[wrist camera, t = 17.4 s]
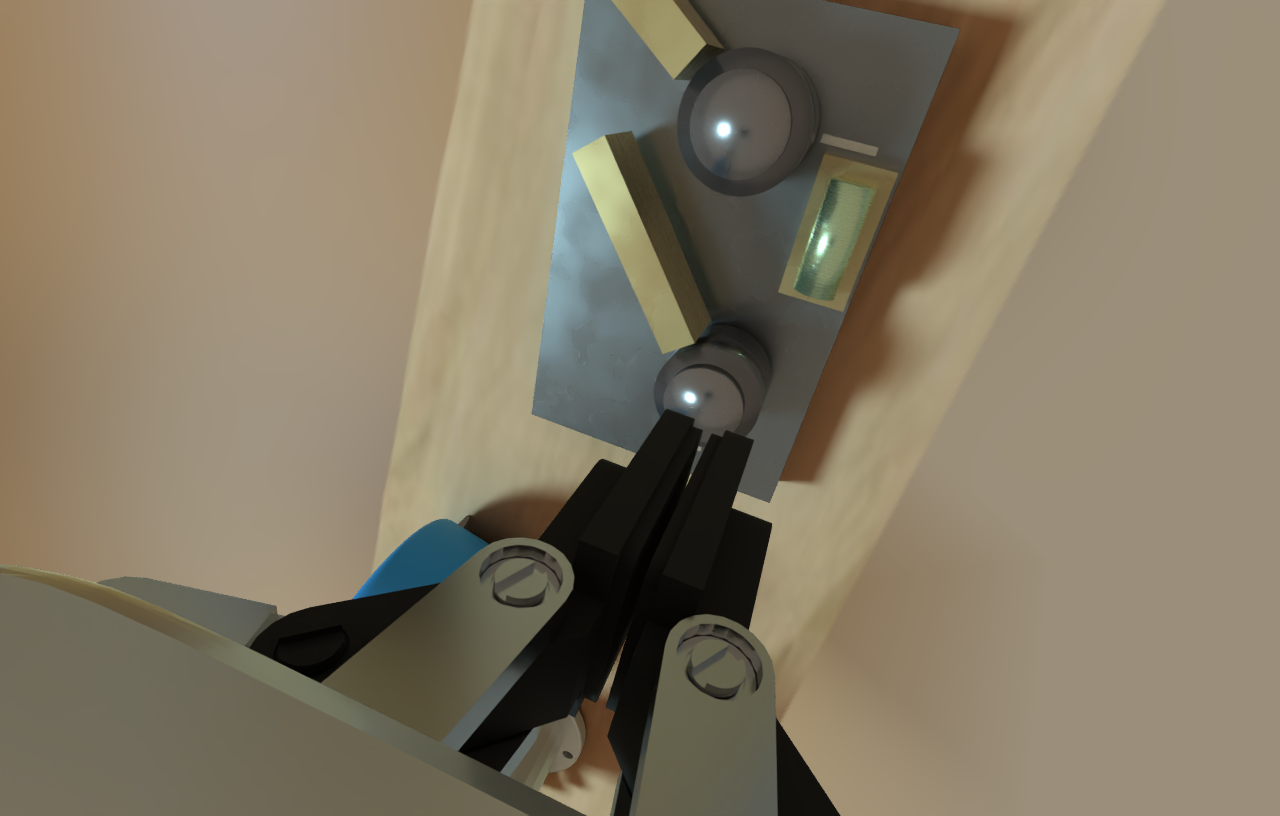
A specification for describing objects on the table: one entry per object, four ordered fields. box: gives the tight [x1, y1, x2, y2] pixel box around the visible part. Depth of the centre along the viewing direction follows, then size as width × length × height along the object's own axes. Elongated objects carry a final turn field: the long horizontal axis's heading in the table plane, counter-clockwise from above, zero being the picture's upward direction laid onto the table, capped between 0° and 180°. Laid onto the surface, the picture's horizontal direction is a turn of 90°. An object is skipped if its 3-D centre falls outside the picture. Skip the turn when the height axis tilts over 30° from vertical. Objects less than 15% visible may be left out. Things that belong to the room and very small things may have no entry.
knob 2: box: [572, 131, 771, 447], centre depth 24 cm, size 13×4×4 cm, turn 26°
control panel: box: [532, 0, 960, 503], centre depth 26 cm, size 20×13×4 cm, turn 168°
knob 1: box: [612, 0, 820, 197], centre depth 20 cm, size 13×4×4 cm, turn 44°
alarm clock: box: [353, 516, 489, 599], centre depth 36 cm, size 13×6×15 cm, turn 155°
